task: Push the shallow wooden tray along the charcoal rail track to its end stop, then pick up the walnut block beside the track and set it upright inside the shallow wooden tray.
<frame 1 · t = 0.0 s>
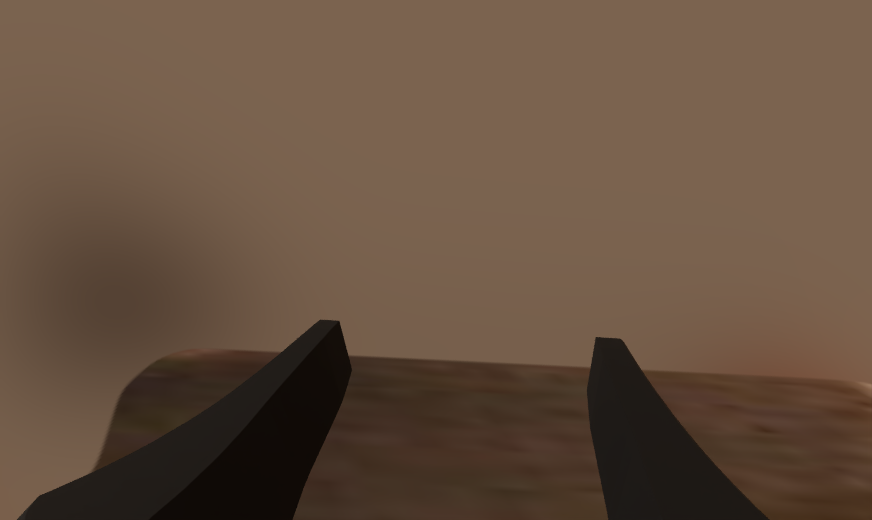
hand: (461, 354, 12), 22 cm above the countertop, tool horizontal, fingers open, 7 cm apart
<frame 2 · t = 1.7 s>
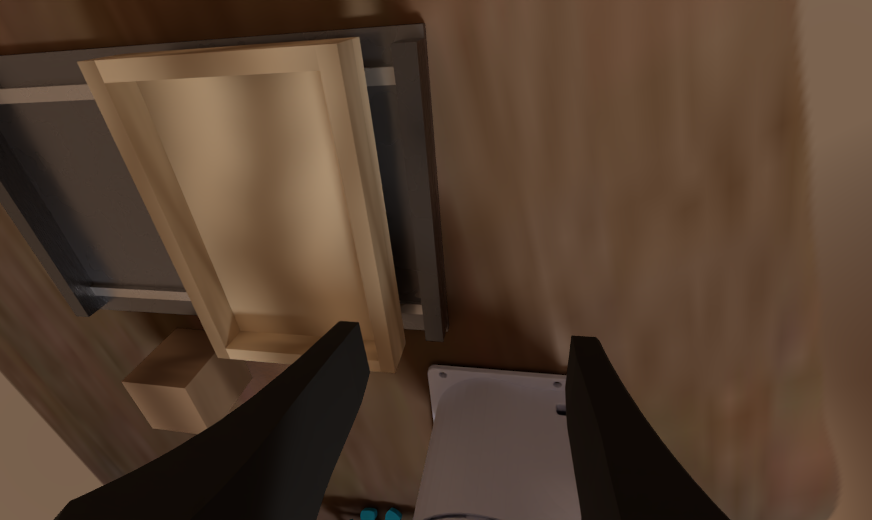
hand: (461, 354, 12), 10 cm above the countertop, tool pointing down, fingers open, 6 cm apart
rail base: (218, 203, 24), on the countertop
part block: (215, 353, 31), on the countertop
shallow wooden tray: (277, 226, 21), point 3 cm above the countertop, slide at 0.0 cm
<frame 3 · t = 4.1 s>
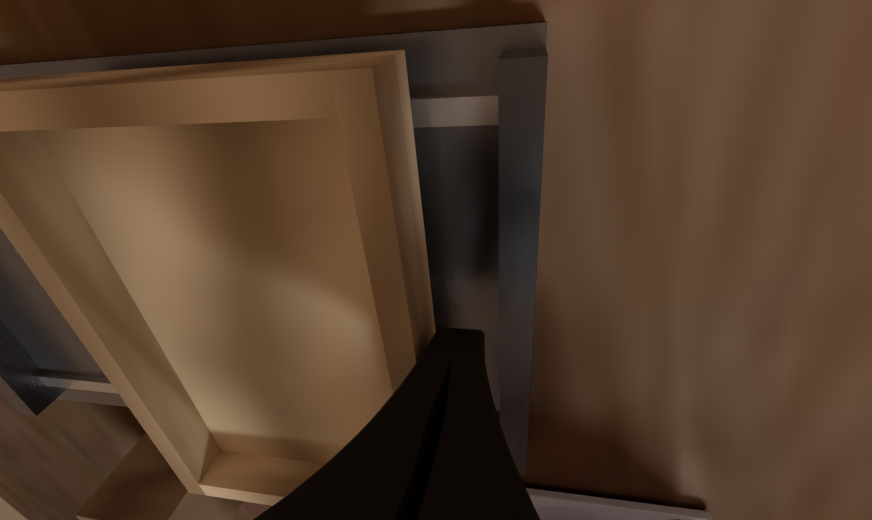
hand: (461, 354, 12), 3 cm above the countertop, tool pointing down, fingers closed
rail base: (203, 281, 17), on the countertop
part block: (206, 450, 24), on the countertop
shallow wooden tray: (268, 333, 14), point 3 cm above the countertop, slide at 0.8 cm, touching gripper
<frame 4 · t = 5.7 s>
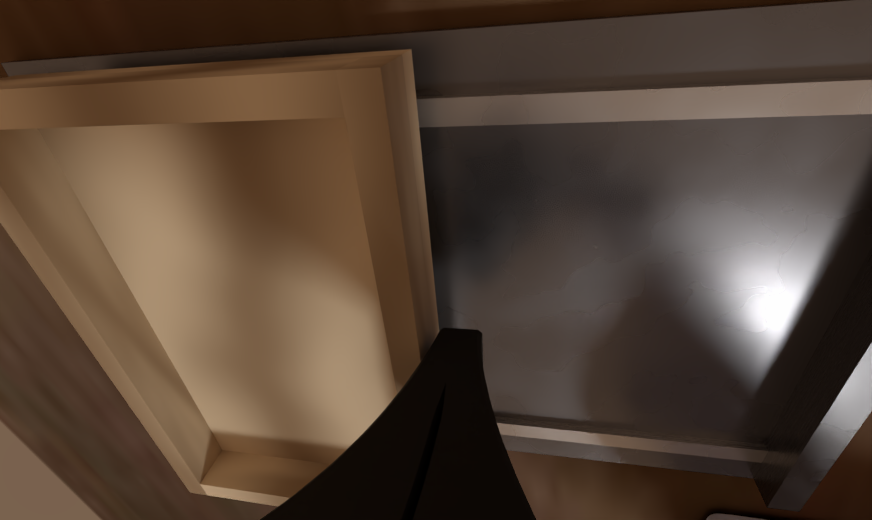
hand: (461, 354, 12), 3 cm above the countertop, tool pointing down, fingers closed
rail base: (440, 292, 15), on the countertop
shallow wooden tray: (271, 333, 14), point 3 cm above the countertop, slide at 10.0 cm, touching gripper
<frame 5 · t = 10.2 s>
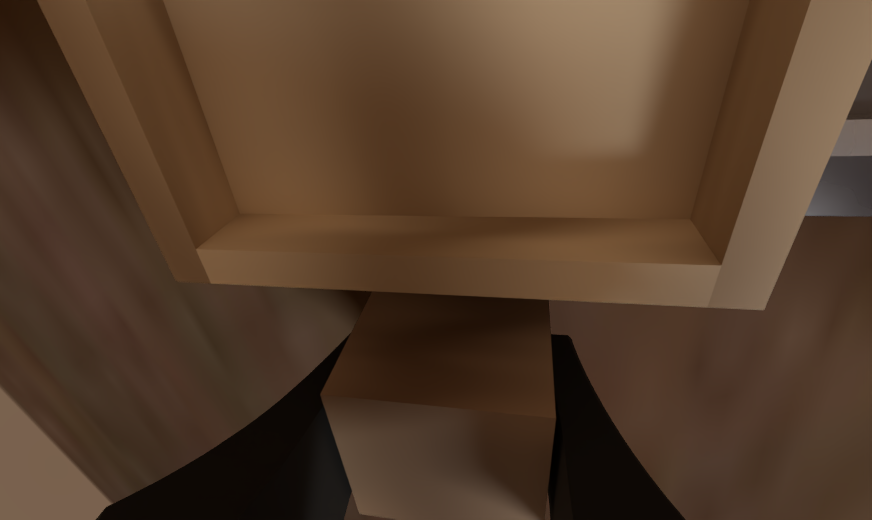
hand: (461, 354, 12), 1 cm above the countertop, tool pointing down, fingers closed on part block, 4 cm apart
part block: (467, 321, 13), on the countertop, touching gripper
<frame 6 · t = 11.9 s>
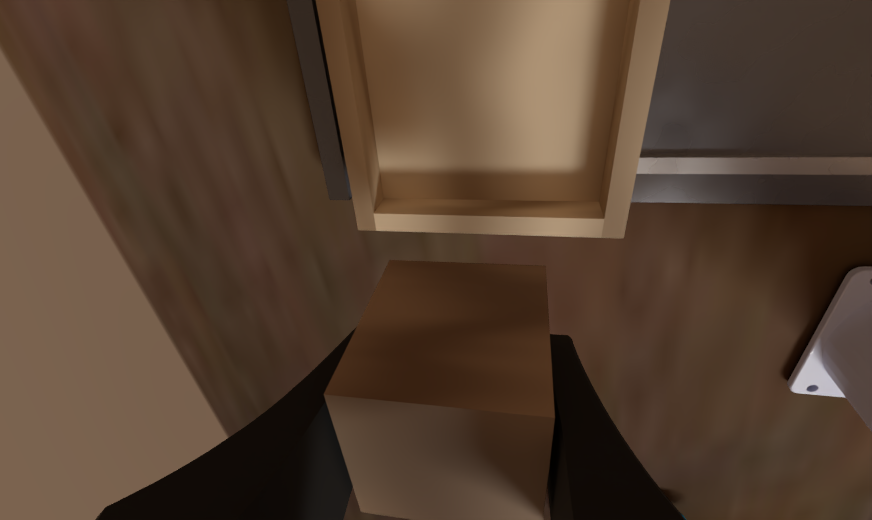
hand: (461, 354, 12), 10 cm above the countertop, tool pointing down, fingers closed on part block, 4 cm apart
part block: (467, 322, 13), point 9 cm above the countertop, touching gripper
shallow wooden tray: (485, 6, 14), point 3 cm above the countertop, slide at 10.0 cm
when the fingers open (5 cm above the countertop, at t = 13.8 s): part block stays where it is, resting on shallow wooden tray.
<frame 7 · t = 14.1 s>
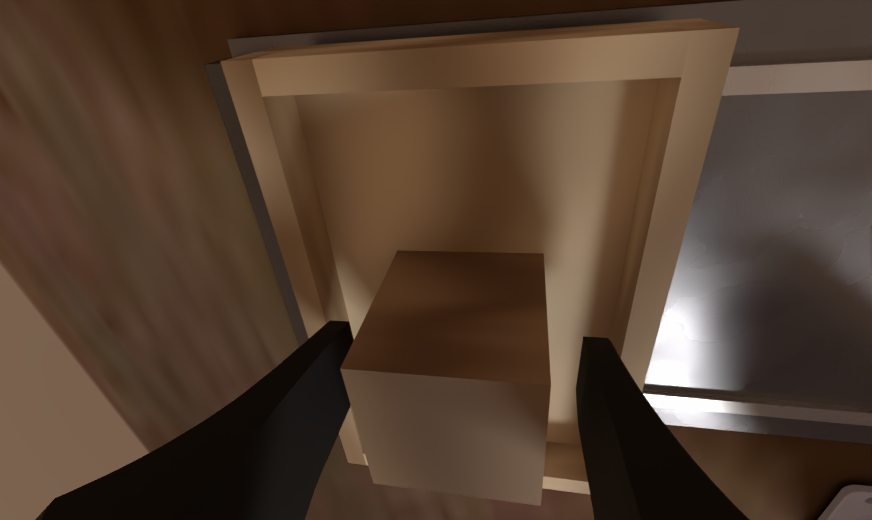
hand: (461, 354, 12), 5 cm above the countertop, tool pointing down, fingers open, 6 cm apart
rail base: (618, 264, 15), on the countertop
part block: (471, 309, 14), point 3 cm above the countertop, touching shallow wooden tray
shallow wooden tray: (470, 301, 14), point 3 cm above the countertop, slide at 10.0 cm, touching part block
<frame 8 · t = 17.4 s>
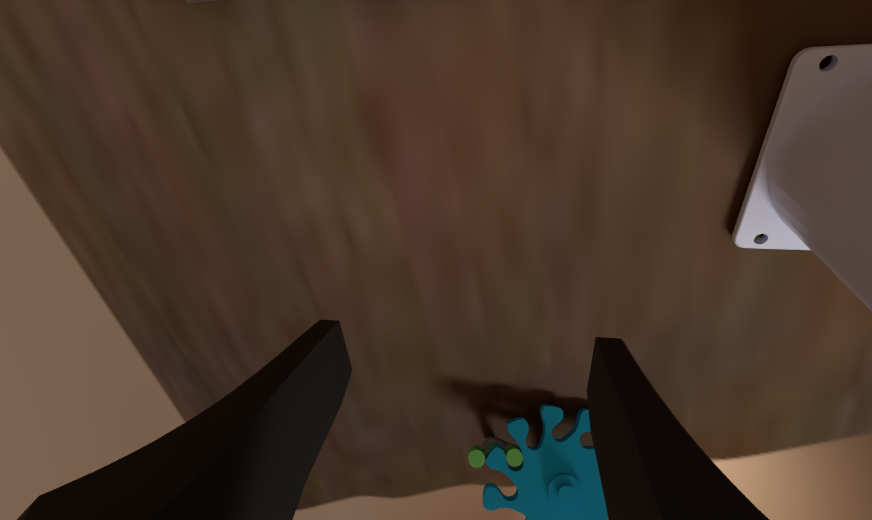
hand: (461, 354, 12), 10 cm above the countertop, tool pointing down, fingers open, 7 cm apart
gear: (553, 430, 29), on the countertop
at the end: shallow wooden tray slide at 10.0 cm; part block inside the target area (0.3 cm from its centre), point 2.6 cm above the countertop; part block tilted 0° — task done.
